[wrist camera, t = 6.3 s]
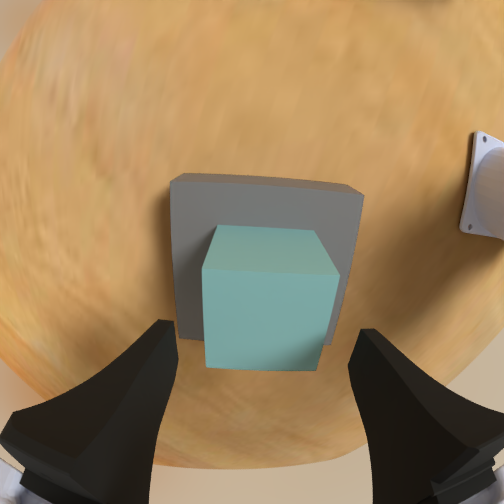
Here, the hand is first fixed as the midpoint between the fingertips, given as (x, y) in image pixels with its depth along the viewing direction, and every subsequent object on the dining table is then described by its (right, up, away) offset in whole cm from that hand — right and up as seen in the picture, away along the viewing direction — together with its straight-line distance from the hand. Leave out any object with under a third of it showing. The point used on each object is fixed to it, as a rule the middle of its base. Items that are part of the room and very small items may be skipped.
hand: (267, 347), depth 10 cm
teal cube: (0, +3, +5) cm, 6 cm away
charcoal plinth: (0, +3, +8) cm, 9 cm away
